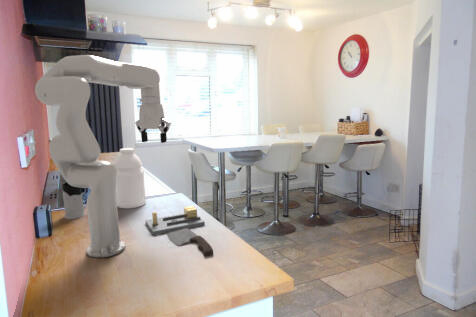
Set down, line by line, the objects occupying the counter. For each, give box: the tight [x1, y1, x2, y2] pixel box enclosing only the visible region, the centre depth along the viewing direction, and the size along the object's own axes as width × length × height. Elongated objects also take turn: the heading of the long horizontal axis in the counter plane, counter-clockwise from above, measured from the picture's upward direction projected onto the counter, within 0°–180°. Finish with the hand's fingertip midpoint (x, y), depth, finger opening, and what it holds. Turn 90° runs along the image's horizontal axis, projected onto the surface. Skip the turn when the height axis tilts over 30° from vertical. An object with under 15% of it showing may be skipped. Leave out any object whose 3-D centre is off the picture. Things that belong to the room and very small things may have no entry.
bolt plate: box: [145, 211, 206, 236], centre depth 144 cm, size 14×21×6 cm, turn 116°
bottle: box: [113, 147, 146, 209], centre depth 171 cm, size 14×14×28 cm
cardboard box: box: [183, 205, 198, 219], centre depth 147 cm, size 5×4×4 cm
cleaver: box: [165, 228, 214, 257], centre depth 127 cm, size 30×10×2 cm, turn 32°
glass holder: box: [61, 182, 87, 220], centre depth 159 cm, size 9×14×15 cm, turn 130°
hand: (154, 142), depth 148 cm, fingers open, 9 cm apart
